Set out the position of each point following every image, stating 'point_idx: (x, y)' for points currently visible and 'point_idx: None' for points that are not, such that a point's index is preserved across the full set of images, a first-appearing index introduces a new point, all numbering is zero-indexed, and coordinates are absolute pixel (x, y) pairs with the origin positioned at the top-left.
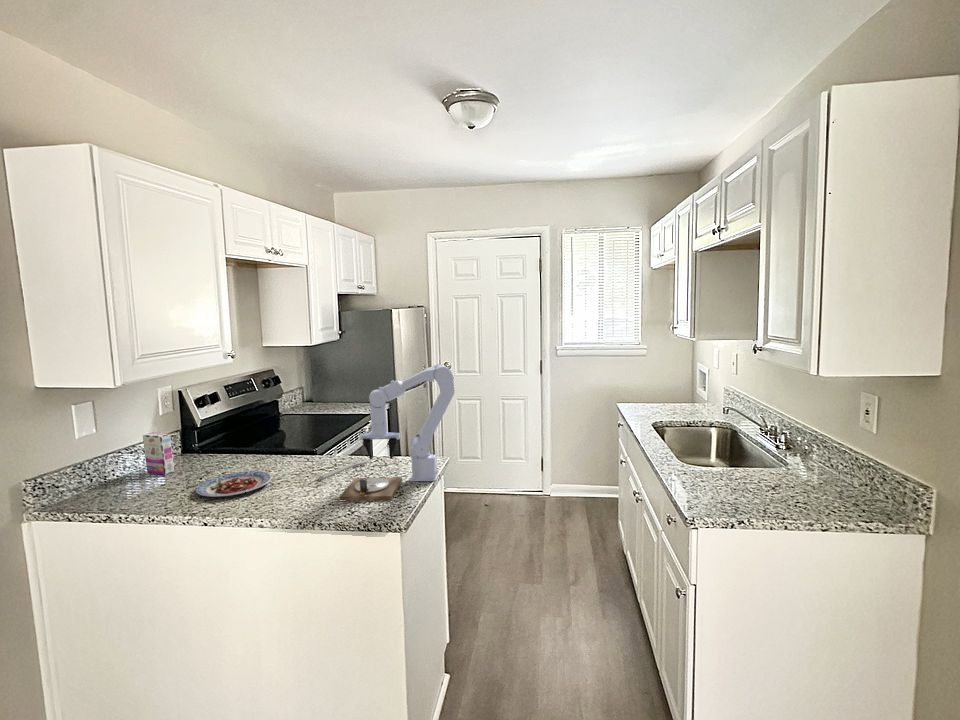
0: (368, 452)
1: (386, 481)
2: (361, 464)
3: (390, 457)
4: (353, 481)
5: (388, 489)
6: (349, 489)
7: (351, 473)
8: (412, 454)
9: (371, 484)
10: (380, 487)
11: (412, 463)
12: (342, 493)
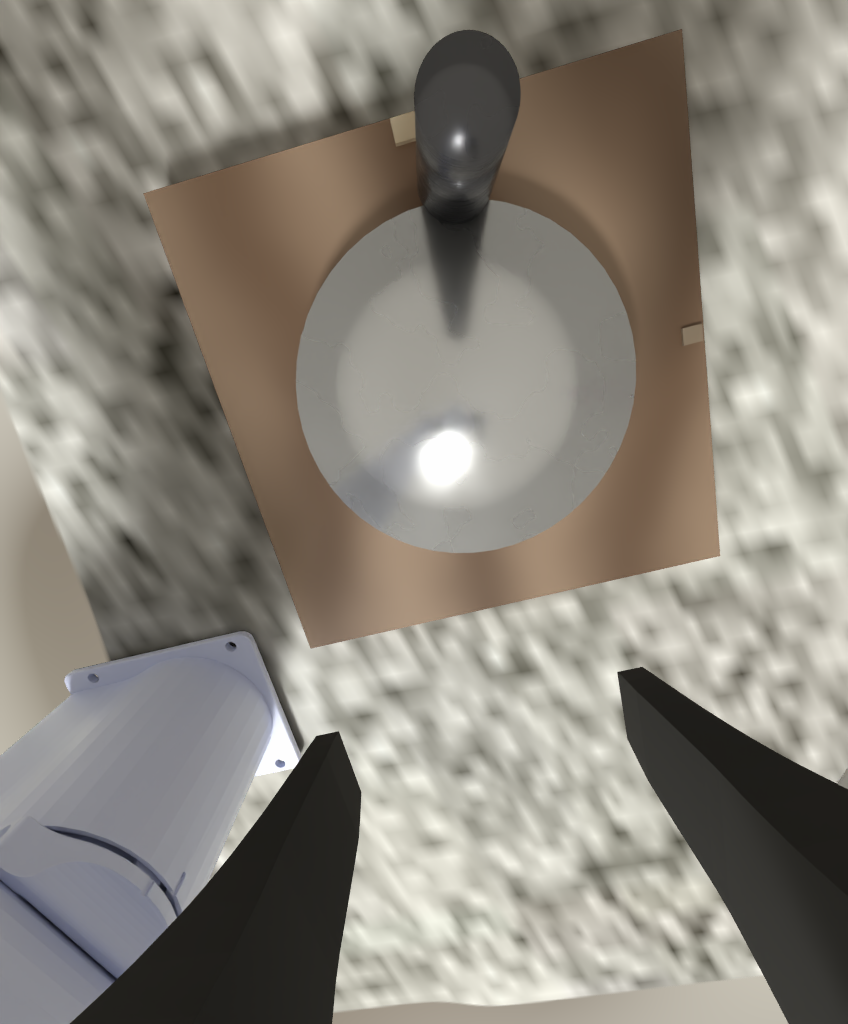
0: (727, 735)
1: (352, 483)
2: None
3: (325, 745)
4: (700, 481)
5: (269, 358)
6: (656, 275)
7: (799, 699)
8: (131, 907)
9: (460, 376)
10: (323, 314)
11: (169, 778)
12: (687, 146)
